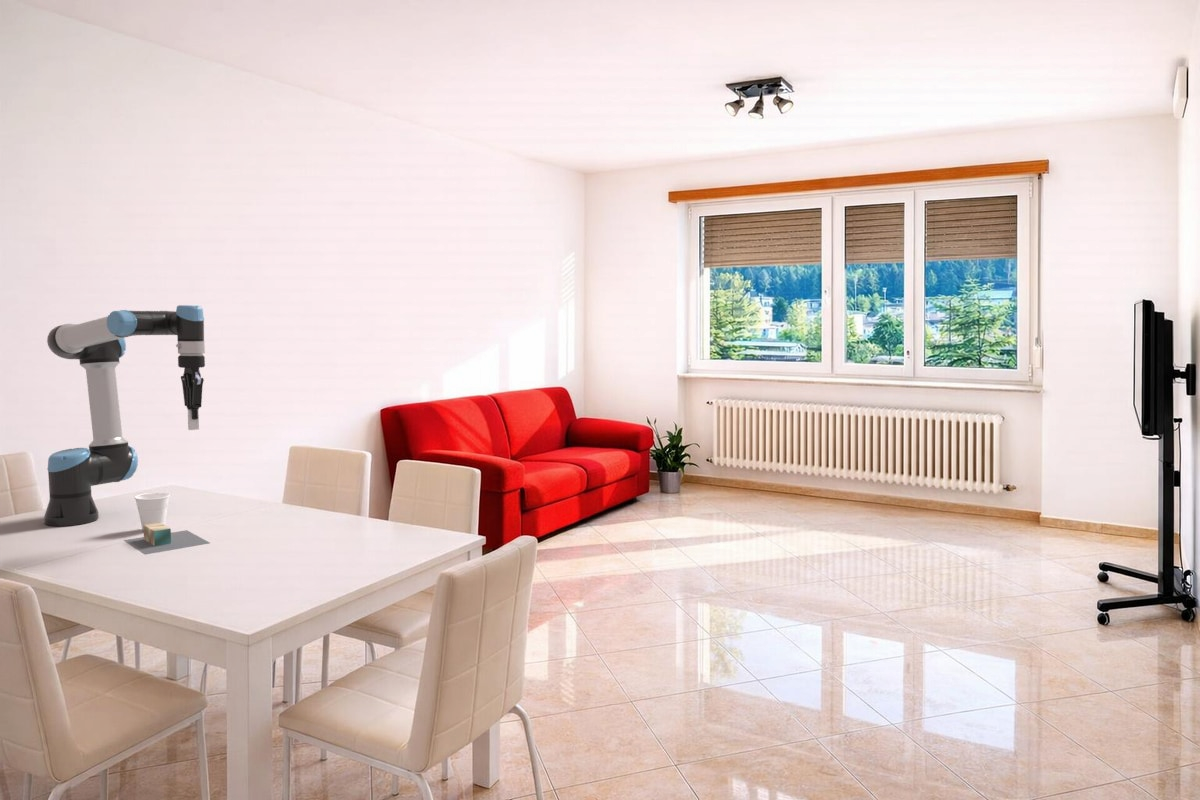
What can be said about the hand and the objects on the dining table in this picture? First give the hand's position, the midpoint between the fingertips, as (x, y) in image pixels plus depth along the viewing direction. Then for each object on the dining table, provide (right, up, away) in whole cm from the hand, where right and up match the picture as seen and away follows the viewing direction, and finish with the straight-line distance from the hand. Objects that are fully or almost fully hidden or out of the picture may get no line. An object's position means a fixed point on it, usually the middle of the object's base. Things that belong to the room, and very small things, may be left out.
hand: (193, 429), depth 263 cm
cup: (-14, -32, +3) cm, 35 cm away
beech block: (-1, -31, -16) cm, 35 cm away
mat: (-2, -34, -12) cm, 36 cm away
